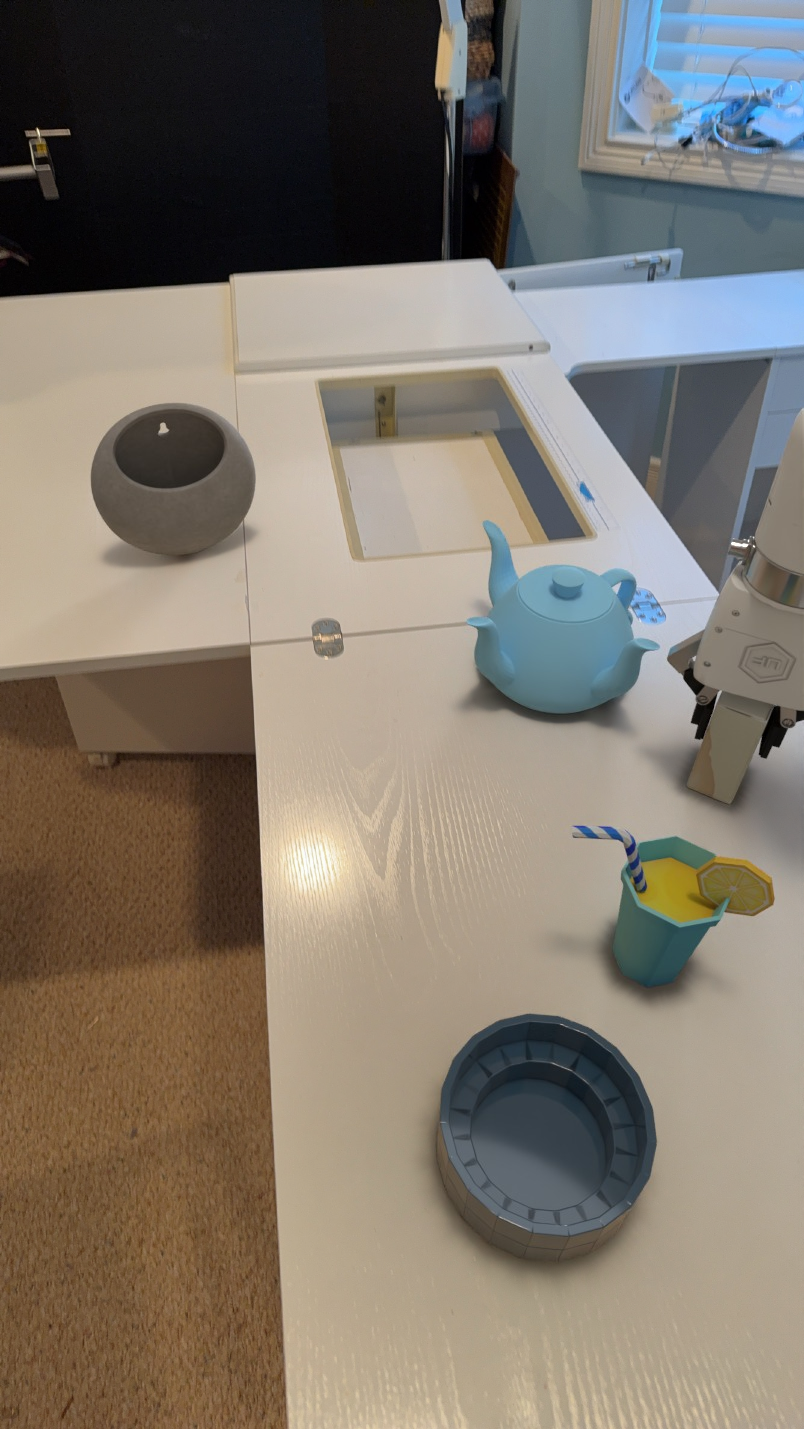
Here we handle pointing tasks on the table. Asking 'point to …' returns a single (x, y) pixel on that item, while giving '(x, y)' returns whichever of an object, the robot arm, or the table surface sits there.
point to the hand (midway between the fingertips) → (732, 736)
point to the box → (728, 746)
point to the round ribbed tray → (544, 1136)
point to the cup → (675, 900)
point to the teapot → (557, 634)
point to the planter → (173, 479)
